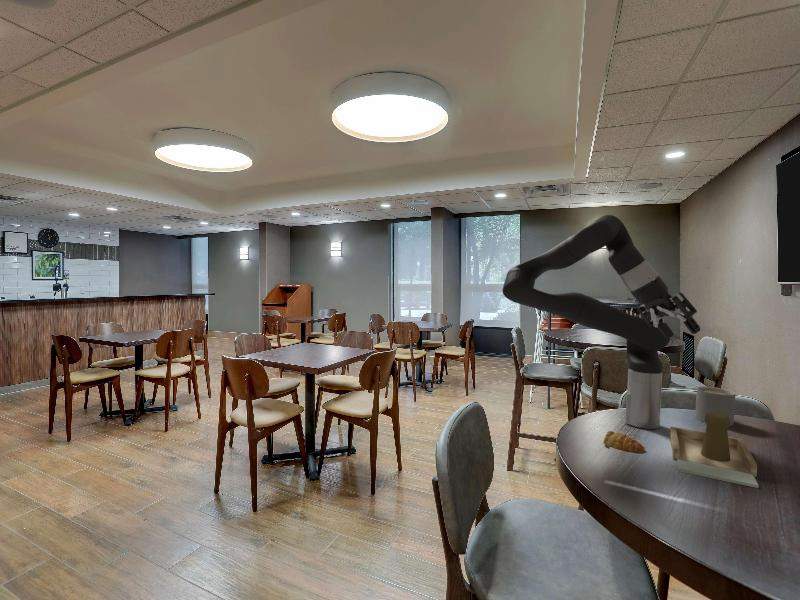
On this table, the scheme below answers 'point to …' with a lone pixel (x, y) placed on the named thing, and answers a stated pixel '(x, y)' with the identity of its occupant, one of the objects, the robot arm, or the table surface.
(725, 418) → the cork
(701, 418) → the coffee mug
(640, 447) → the pastry
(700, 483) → the table surface
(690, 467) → the panel
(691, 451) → the tray
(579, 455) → the table surface
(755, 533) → the table surface
